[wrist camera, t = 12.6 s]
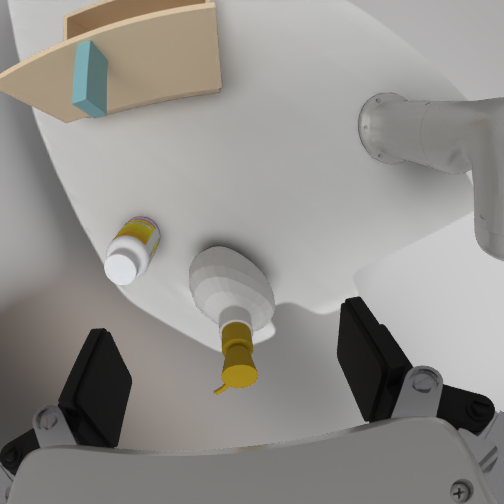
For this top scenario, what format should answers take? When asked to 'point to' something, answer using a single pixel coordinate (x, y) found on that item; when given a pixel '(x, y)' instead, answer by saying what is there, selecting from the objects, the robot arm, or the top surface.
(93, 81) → the lid
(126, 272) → the supplement bottle
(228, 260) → the soap bottle
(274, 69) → the top surface
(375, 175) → the top surface
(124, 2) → the carton
